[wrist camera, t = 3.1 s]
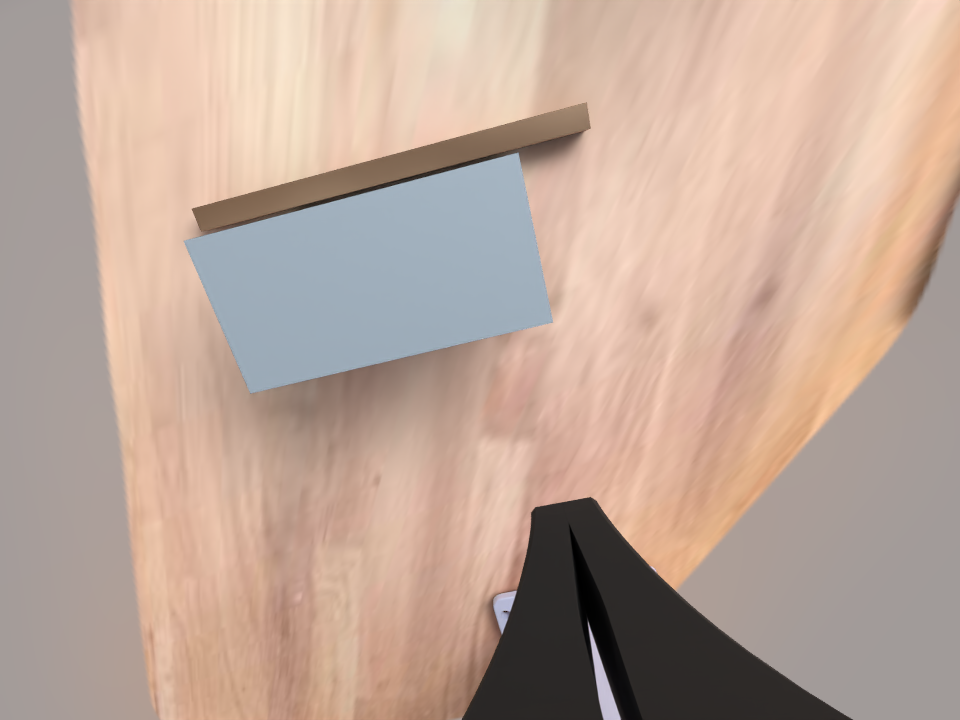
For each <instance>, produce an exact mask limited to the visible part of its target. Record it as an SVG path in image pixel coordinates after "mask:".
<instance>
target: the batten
mask: <svg viewBox="0 0 960 720" xmlns="http://www.w3.org/2000/svg"><path fill="white" fill-rule="evenodd" d="M590 128H591V127H590V121H589V114H588V108H587V102H586V103H583V104H579V105H575V106H571V107H568V108H564V109H560V110H557V111H553V112H549V113H545V114H542V115H538V116H534V117H531V118H527V119H523V120H519V121H516V122H512V123H508V124H505V125H501V126H497V127H493V128H490V129H486V130H482V131H479V132H475V133H471V134H467V135H464V136H460V137H456V138H453V139H449V140H445V141H442V142H438V143H434V144H430V145H427V146H423V147H419V148H416V149H412V150H408V151H404V152H401V153H397V154H393V155H390V156H386V157H382V158H378V159H375V160H371V161H367V162H364V163H360V164H356V165H352V166H349V167H345V168H341V169H338V170H334V171H330V172H326V173H323V174H319V175H315V176H312V177H308V178H304V179H300V180H297V181H293V182H289V183H286V184H282V185H278V186H274V187H271V188H267V189H263V190H260V191H256V192H252V193H248V194H245V195H241V196H237V197H234V198H230V199H226V200H223V201H219V202H215V203H211V204H208V205H204V206H200V207H197V208H193V209H192V211H193V213H194V215H195V218H196V220H197V223H198V225H199V227H200V230H201V232H202V231H207V230H212V229H216V228H220V227H224V226H228V225H232V224H235V223H239V222H243V221H247V220H250V219H254V218H258V217H262V216H266V215H269V214H273V213H277V212H281V211H284V210H288V209H292V208H296V207H300V206H303V205H307V204H311V203H315V202H318V201H322V200H326V199H330V198H334V197H337V196H341V195H345V194H349V193H352V192H356V191H360V190H364V189H367V188H371V187H375V186H379V185H383V184H386V183H390V182H394V181H398V180H401V179H405V178H409V177H413V176H417V175H420V174H424V173H428V172H432V171H435V170H439V169H443V168H447V167H451V166H454V165H458V164H462V163H466V162H469V161H473V160H477V159H481V158H485V157H488V156H492V155H496V154H500V153H503V152H507V151H511V150H515V149H519V148H522V147H526V146H530V145H534V144H537V143H541V142H545V141H549V140H553V139H556V138H560V137H564V136H568V135H571V134H575V133H579V132H583V131H586V130H588V129H590Z"/></svg>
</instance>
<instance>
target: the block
mask: <svg viewBox="0 0 960 720" xmlns="http://www.w3.org/2000/svg"><path fill="white" fill-rule="evenodd" d="M184 243H185V245H186V247H187V250H188V252H189V254H190V257H191V259H192V261H193V264H194V266H195V268H196V270H197V273H198V275H199V277H200V280H201V282H202V284H203V286H204V289H205V291H206V293H207V296H208V298H209V300H210V302H211V305H212V307H213V309H214V312H215V314H216V316H217V318H218V321H219V323H220V325H221V328H222V330H223V332H224V334H225V337H226V339H227V341H228V344H229V346H230V348H231V350H232V353H233V355H234V357H235V360H236V362H237V364H238V366H239V369H240V371H241V373H242V376H243V378H244V380H245V382H246V385H247V387H248V389H249V392H250V394H251V393H255V392H259V391H263V390H268V389H272V388H276V387H280V386H285V385H289V384H293V383H297V382H302V381H306V380H310V379H314V378H319V377H323V376H327V375H331V374H336V373H340V372H344V371H348V370H353V369H357V368H361V367H366V366H370V365H374V364H378V363H383V362H387V361H391V360H395V359H400V358H404V357H408V356H412V355H417V354H421V353H425V352H429V351H434V350H438V349H442V348H446V347H451V346H455V345H459V344H463V343H468V342H472V341H476V340H480V339H485V338H489V337H493V336H498V335H502V334H506V333H510V332H515V331H519V330H523V329H527V328H532V327H536V326H540V325H544V324H549V323H553V320H552V315H551V310H550V305H549V300H548V295H547V290H546V286H545V281H544V276H543V271H542V266H541V261H540V256H539V251H538V246H537V241H536V236H535V232H534V227H533V222H532V217H531V212H530V207H529V202H528V197H527V192H526V187H525V183H524V178H523V173H522V168H521V163H520V158H519V153H515V154H511V155H507V156H503V157H500V158H496V159H492V160H488V161H485V162H481V163H477V164H473V165H469V166H466V167H462V168H458V169H454V170H450V171H447V172H443V173H439V174H435V175H432V176H428V177H424V178H420V179H416V180H413V181H409V182H405V183H401V184H397V185H394V186H390V187H386V188H382V189H379V190H375V191H371V192H367V193H363V194H360V195H356V196H352V197H348V198H344V199H341V200H337V201H333V202H329V203H326V204H322V205H318V206H314V207H310V208H307V209H303V210H299V211H295V212H291V213H288V214H284V215H280V216H276V217H273V218H269V219H265V220H261V221H257V222H254V223H250V224H246V225H242V226H238V227H235V228H231V229H227V230H223V231H220V232H216V233H212V234H208V235H204V236H201V237H197V238H193V239H189V240H186V241H184Z"/></svg>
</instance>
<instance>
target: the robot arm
mask: <svg viewBox="0 0 960 720" xmlns="http://www.w3.org/2000/svg"><path fill="white" fill-rule="evenodd" d="M493 608H494V612H495V615H496V618H497V621H498V625H499V628H500V631H501V634H502V636H501V638H500V641H499V643H498V646H497V648H496V650H495V653H494V655H493V657H492V660H491V662H490V664H489V666H488V669H487V671H486V673H485V675H484V677H483V679H482V681H481V683H480V685H479V687H478V689H477V691H476V694H475V696H474V697H473V699H472V701H471V703H470V705H469V707H468V709H467V711H466V713H465V715H464V716H463V718H462V720H852V719H851V718H849V717H847V716H846V715H844V714H842V713H841V712H839V711H838V710H836V709H834V708H833V707H831V706H829V705H828V704H826V703H825V702H823V701H821V700H820V699H818V698H817V697H815V696H814V695H812V694H810V693H809V692H807V691H806V690H804V689H802V688H801V687H799V686H798V685H796V684H795V683H794V682H792V681H791V680H789V679H788V678H786V677H785V676H784V675H782V674H780V673H779V672H778V671H776V670H775V669H773V668H772V667H771V666H769V665H768V664H766V663H765V662H763V661H762V660H760V659H759V658H758V657H756V656H755V655H753V654H752V653H750V652H749V651H748V650H746V649H745V648H743V647H742V646H741V645H740V644H738V643H737V642H736V641H734V640H733V639H732V638H730V637H729V636H728V635H727V634H725V633H724V632H723V631H721V630H720V629H718V627H716V626H715V625H714V624H713V623H712V622H710V621H709V620H708V619H707V618H705V617H704V616H703V615H702V614H701V613H699V612H698V611H697V610H696V609H695V608H693V607H692V606H691V605H690V604H689V603H688V602H687V601H686V600H685V599H683V598H682V597H681V596H680V595H679V594H678V593H677V592H676V591H675V590H674V589H673V588H672V587H671V586H670V585H668V584H667V583H666V582H665V581H664V580H663V579H662V578H661V577H660V576H659V575H658V574H657V572H656V569H655V568H653V567H651V566H649V565H648V564H647V563H646V562H645V560H644V559H643V558H642V557H641V556H640V555H639V554H638V553H637V552H636V551H635V550H634V549H633V548H632V546H631V545H630V544H629V543H628V542H627V541H626V540H625V538H624V537H623V536H622V535H621V534H620V532H619V531H618V530H617V529H616V528H615V526H614V525H613V524H612V523H611V521H610V520H609V519H608V517H607V516H606V515H605V513H604V512H603V510H602V509H601V507H600V506H599V504H598V503H597V501H596V500H594V499H593V498H591V497H589V498H583V499H578V500H573V501H567V502H562V503H556V504H551V505H546V506H540V507H535V509H534V510H533V511H532V512H531V530H530V537H529V543H528V549H527V554H526V558H525V562H524V566H523V570H522V574H521V579H520V582H519V586H518V589H517V591H512V592H507V593H502V594H499V595H497V596H495V597H494V599H493ZM503 611H509V612H503Z"/></svg>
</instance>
